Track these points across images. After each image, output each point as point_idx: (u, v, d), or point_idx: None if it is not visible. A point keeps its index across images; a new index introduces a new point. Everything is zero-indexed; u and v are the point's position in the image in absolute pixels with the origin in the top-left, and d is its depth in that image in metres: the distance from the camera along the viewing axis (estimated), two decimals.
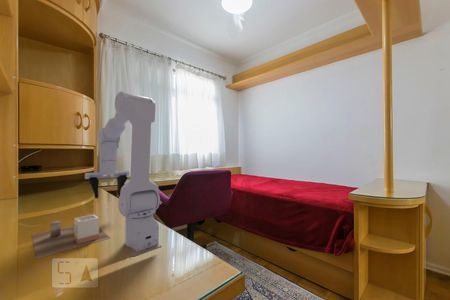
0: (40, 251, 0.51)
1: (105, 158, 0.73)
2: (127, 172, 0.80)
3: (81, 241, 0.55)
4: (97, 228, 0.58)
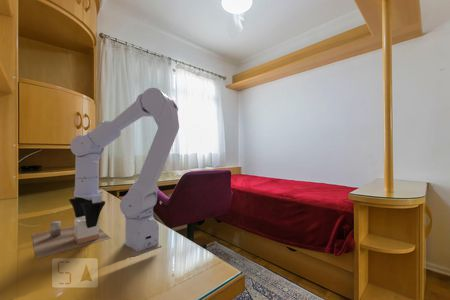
0: (40, 251, 0.51)
1: (89, 175, 0.57)
2: (92, 197, 0.54)
3: (81, 241, 0.55)
4: (97, 228, 0.58)
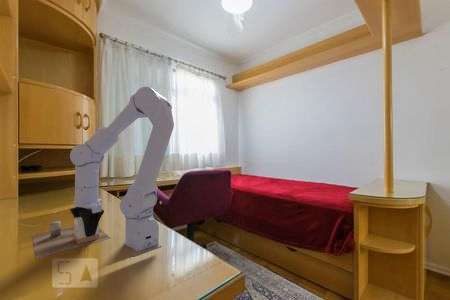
0: (40, 251, 0.51)
1: (89, 184, 0.57)
2: (92, 207, 0.54)
3: (81, 241, 0.55)
4: (97, 228, 0.58)
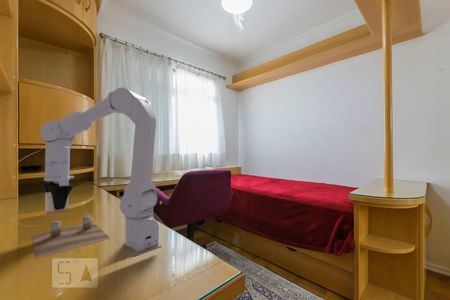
0: (40, 251, 0.51)
1: (59, 160, 0.59)
2: (59, 180, 0.56)
3: (50, 214, 0.57)
4: (67, 203, 0.60)
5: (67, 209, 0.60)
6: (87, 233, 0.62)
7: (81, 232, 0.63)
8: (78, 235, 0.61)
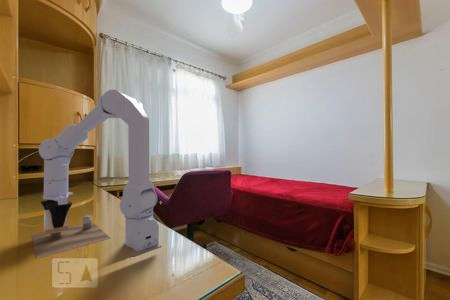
0: (40, 251, 0.51)
1: (57, 178, 0.59)
2: (57, 199, 0.56)
3: (49, 232, 0.57)
4: (66, 220, 0.60)
5: (66, 227, 0.60)
6: (87, 233, 0.62)
7: (81, 232, 0.63)
8: (78, 235, 0.61)
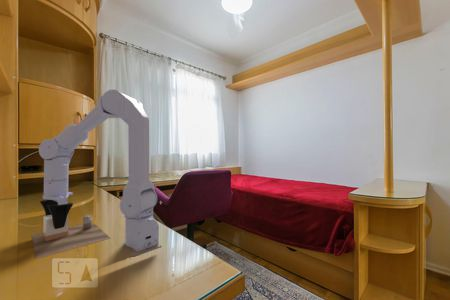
0: (40, 251, 0.51)
1: (57, 178, 0.59)
2: (57, 199, 0.56)
3: (49, 238, 0.57)
4: (66, 225, 0.60)
5: (66, 232, 0.60)
6: (87, 233, 0.62)
7: (81, 232, 0.63)
8: (78, 235, 0.61)
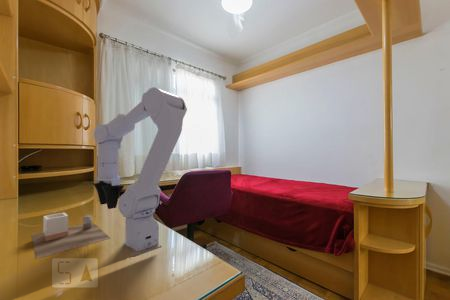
0: (40, 251, 0.51)
1: (107, 160, 0.61)
2: (111, 180, 0.59)
3: (49, 238, 0.57)
4: (66, 225, 0.60)
5: (66, 232, 0.60)
6: (87, 233, 0.62)
7: (81, 232, 0.63)
8: (78, 235, 0.61)
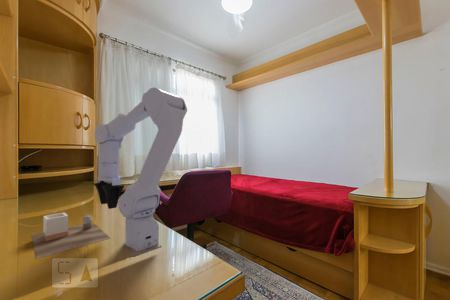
0: (40, 251, 0.51)
1: (108, 160, 0.61)
2: (111, 180, 0.59)
3: (49, 238, 0.57)
4: (66, 225, 0.60)
5: (66, 232, 0.60)
6: (87, 233, 0.62)
7: (81, 232, 0.63)
8: (78, 235, 0.61)
